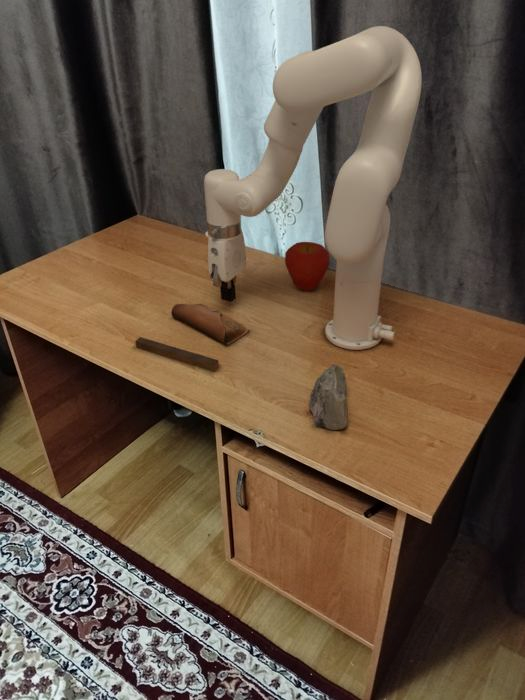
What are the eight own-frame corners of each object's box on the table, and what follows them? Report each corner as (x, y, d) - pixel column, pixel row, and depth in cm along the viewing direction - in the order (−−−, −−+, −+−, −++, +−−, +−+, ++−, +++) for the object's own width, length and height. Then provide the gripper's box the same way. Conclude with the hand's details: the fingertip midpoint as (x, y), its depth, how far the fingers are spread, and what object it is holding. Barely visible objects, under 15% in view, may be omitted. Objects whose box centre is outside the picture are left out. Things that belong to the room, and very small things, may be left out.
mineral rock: (329, 379, 115) (332, 338, 109) (376, 401, 110) (381, 359, 104) (289, 413, 107) (290, 370, 102) (337, 438, 102) (340, 395, 96)
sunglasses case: (251, 328, 130) (240, 313, 125) (233, 353, 128) (221, 339, 123) (197, 303, 140) (184, 287, 135) (180, 325, 138) (166, 311, 133)
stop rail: (219, 367, 120) (218, 360, 118) (214, 371, 118) (213, 364, 117) (141, 343, 127) (140, 336, 126) (136, 347, 126) (135, 340, 125)
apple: (278, 282, 149) (278, 238, 142) (316, 274, 152) (317, 231, 145) (295, 302, 140) (296, 257, 133) (335, 293, 143) (337, 249, 136)
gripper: (221, 244, 121) (226, 318, 131) (255, 218, 131) (256, 289, 142) (191, 237, 123) (198, 310, 134) (226, 213, 134) (230, 282, 145)
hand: (228, 299), depth 138 cm, fingers closed
